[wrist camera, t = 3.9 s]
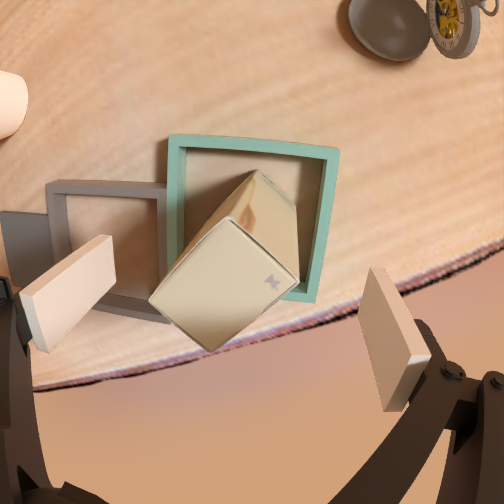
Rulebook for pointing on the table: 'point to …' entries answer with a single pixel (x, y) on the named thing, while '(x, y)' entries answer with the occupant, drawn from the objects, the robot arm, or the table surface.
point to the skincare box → (233, 265)
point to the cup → (12, 103)
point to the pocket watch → (417, 26)
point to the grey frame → (109, 188)
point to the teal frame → (329, 154)
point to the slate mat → (27, 245)
